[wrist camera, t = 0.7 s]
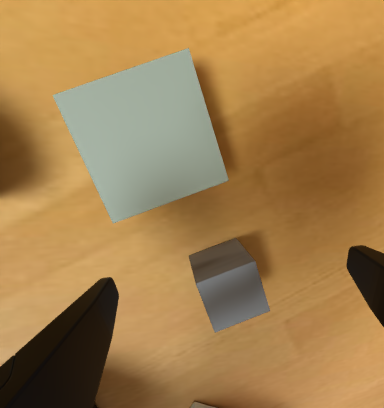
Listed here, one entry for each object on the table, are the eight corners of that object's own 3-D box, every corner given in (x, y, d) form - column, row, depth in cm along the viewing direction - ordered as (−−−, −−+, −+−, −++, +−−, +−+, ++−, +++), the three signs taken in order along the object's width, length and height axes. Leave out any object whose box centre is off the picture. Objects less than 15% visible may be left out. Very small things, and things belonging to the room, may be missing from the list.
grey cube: (248, 278, 25) (270, 310, 20) (204, 296, 24) (215, 332, 20) (235, 237, 23) (255, 260, 19) (188, 255, 23) (195, 283, 18)
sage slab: (220, 176, 20) (228, 180, 17) (119, 213, 19) (113, 223, 17) (184, 61, 17) (188, 48, 15) (67, 102, 17) (52, 95, 15)
